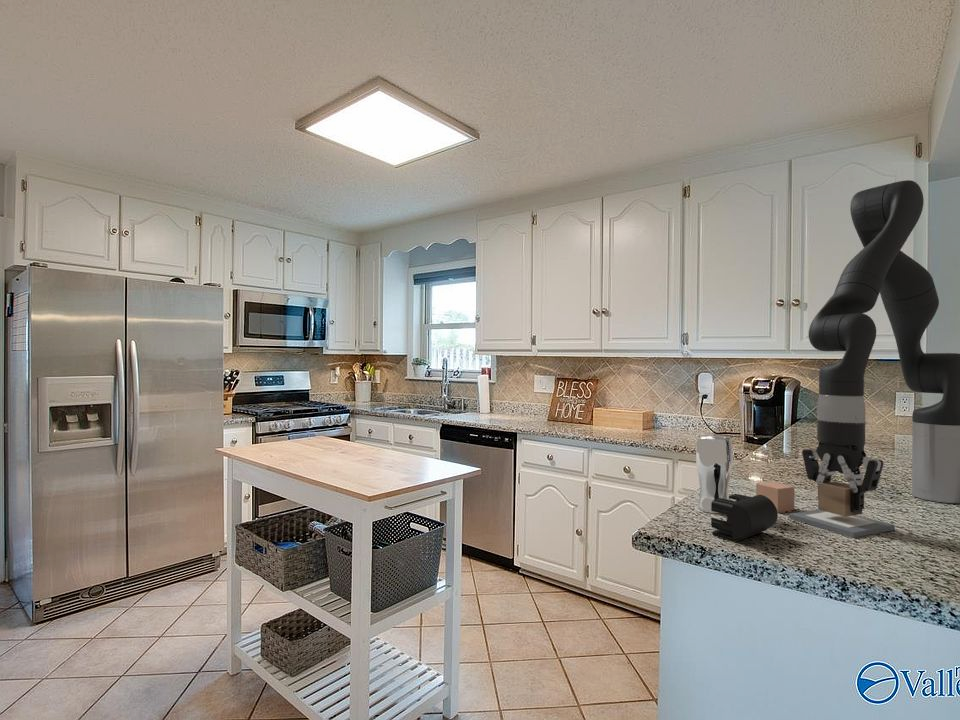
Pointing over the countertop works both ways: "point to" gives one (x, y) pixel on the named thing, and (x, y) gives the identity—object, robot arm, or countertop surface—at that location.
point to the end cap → (743, 516)
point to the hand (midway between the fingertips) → (840, 507)
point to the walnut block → (835, 498)
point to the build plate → (842, 523)
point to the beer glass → (713, 469)
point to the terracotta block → (777, 495)
